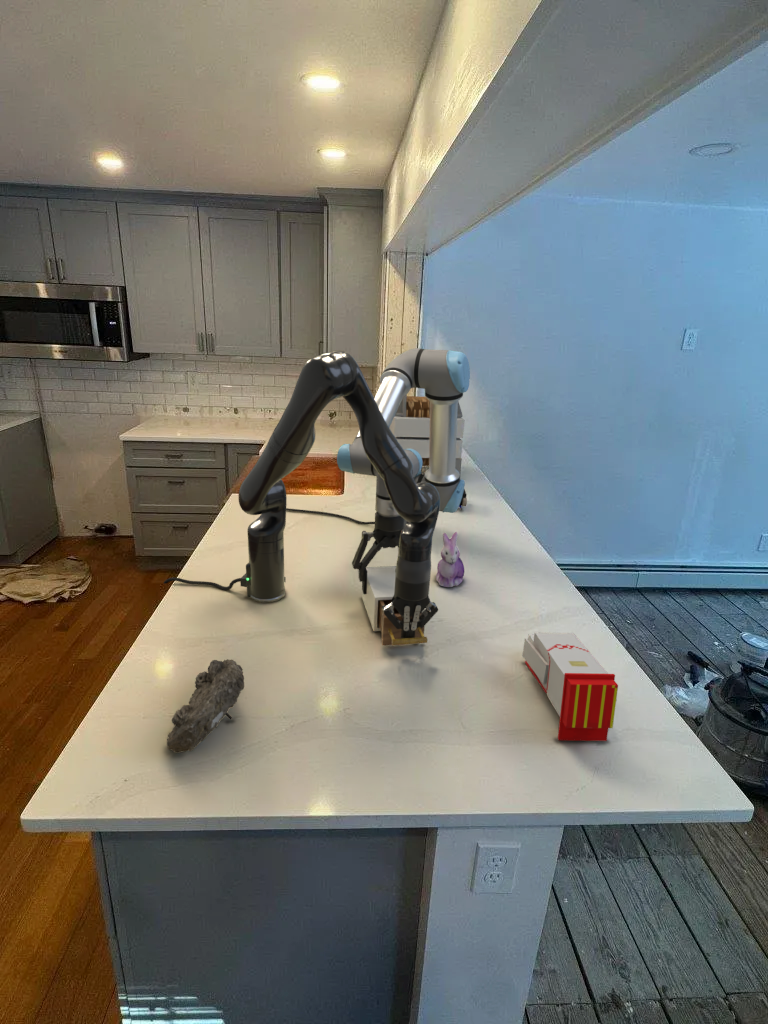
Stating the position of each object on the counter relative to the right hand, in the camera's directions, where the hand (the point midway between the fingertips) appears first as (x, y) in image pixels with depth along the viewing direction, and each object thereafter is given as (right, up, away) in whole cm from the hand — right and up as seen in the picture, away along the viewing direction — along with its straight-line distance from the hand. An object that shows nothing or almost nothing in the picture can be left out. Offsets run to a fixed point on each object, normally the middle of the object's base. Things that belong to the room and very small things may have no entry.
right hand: (386, 590), depth 150 cm
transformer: (+17, +40, +125) cm, 132 cm away
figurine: (+19, 0, +17) cm, 25 cm away
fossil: (-33, -18, -42) cm, 56 cm away
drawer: (+3, -9, -13) cm, 15 cm away
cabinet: (+1, -5, -2) cm, 6 cm away
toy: (+36, -18, -31) cm, 51 cm away
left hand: (+5, -9, -21) cm, 23 cm away
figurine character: (+29, +23, +81) cm, 89 cm away
